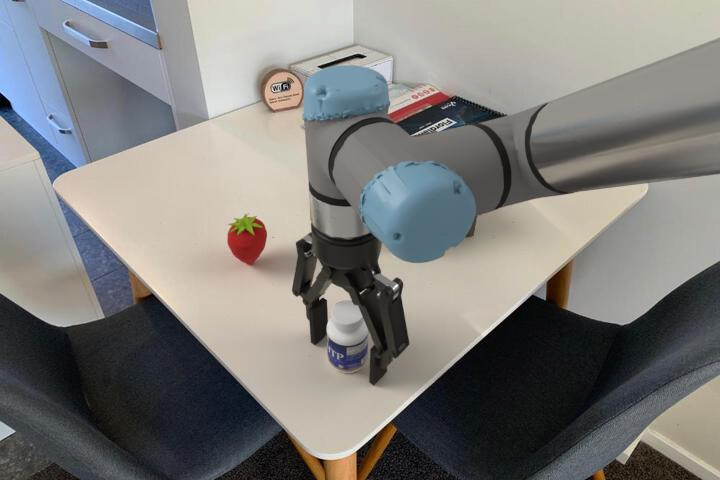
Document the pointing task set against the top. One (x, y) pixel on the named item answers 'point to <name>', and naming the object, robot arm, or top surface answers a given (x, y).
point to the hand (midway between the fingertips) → (347, 356)
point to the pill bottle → (347, 338)
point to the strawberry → (247, 239)
